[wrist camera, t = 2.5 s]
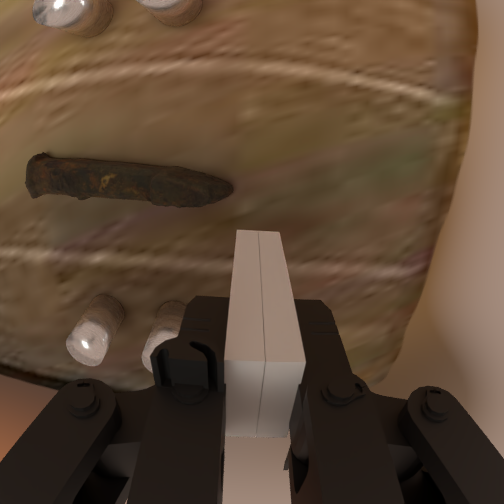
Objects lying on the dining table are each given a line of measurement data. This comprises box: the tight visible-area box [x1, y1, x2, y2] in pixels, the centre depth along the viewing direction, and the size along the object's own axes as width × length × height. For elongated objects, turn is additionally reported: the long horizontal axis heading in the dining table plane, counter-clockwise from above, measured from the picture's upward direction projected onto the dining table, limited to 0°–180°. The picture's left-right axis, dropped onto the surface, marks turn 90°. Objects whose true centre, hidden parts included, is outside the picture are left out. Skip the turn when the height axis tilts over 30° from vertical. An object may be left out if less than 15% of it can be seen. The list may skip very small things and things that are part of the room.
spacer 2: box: [66, 294, 124, 366], centre depth 30 cm, size 4×4×7 cm
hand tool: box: [25, 152, 233, 208], centre depth 25 cm, size 19×4×5 cm, turn 80°
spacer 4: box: [142, 301, 187, 373], centre depth 30 cm, size 4×4×7 cm
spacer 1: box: [33, 0, 113, 37], centre depth 17 cm, size 4×4×7 cm
